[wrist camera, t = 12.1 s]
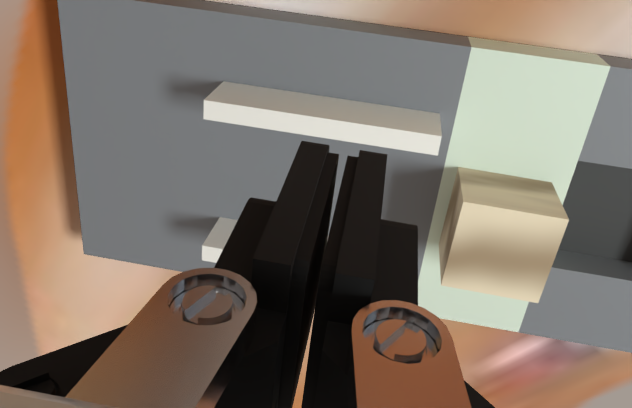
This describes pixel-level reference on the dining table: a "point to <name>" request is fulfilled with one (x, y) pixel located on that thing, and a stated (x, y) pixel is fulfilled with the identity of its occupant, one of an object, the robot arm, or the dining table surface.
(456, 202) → the birch block
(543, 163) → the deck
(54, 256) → the dining table surface
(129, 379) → the robot arm
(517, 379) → the dining table surface
